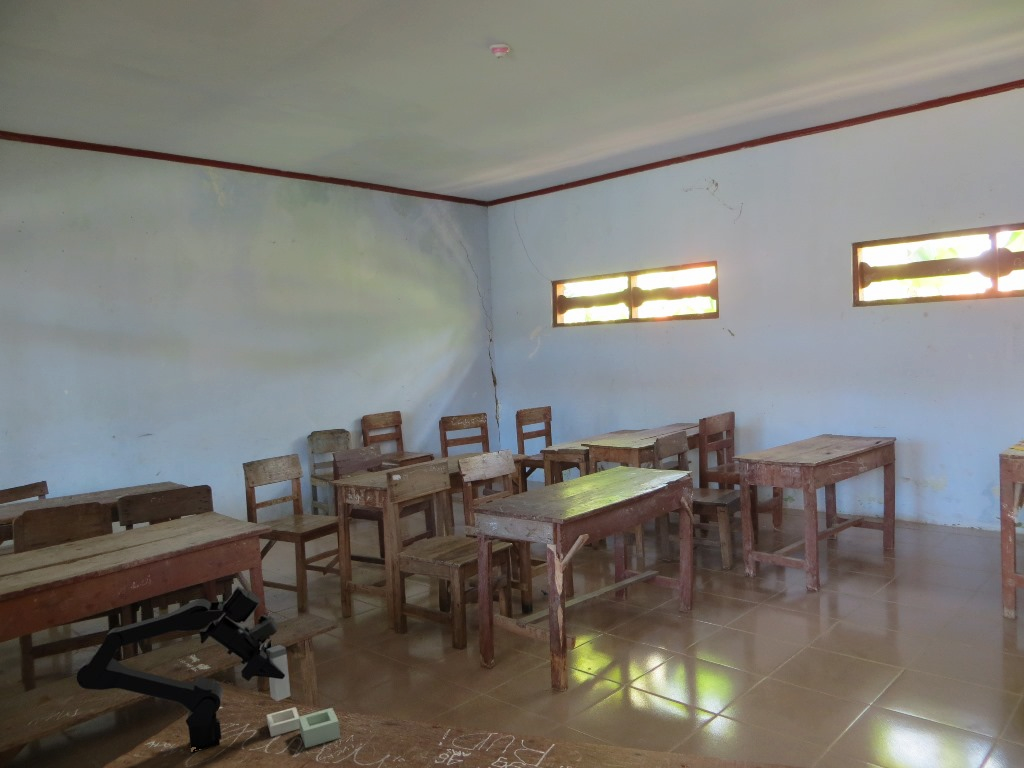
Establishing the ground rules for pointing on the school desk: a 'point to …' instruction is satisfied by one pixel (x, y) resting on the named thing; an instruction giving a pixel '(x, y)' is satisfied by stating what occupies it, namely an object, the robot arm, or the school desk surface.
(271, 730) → the low collar
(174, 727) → the school desk surface
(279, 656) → the plug
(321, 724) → the raised socket
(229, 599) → the robot arm
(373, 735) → the school desk surface
